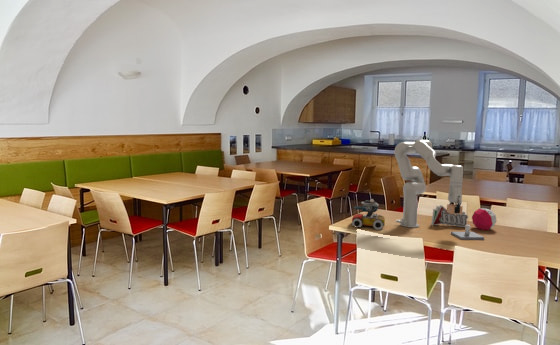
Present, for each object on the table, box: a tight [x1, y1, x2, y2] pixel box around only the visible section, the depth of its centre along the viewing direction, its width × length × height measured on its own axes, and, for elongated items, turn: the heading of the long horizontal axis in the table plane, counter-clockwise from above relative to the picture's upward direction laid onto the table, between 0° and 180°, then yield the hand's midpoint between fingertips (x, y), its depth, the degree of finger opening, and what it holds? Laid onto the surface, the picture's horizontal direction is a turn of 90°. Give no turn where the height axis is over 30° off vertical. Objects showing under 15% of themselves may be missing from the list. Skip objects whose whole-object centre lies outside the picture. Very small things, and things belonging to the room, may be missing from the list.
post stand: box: [450, 224, 485, 241], centre depth 276 cm, size 15×14×8 cm
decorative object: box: [471, 208, 498, 231], centre depth 299 cm, size 15×15×15 cm
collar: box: [446, 203, 464, 214], centre depth 275 cm, size 7×7×5 cm
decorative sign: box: [430, 204, 469, 228], centre depth 305 cm, size 24×3×15 cm, turn 84°
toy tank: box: [351, 198, 386, 231], centre depth 299 cm, size 18×22×20 cm
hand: (454, 211), depth 275 cm, fingers closed on collar, 7 cm apart
